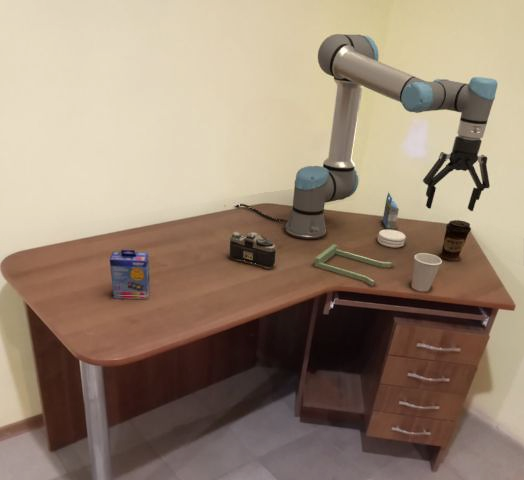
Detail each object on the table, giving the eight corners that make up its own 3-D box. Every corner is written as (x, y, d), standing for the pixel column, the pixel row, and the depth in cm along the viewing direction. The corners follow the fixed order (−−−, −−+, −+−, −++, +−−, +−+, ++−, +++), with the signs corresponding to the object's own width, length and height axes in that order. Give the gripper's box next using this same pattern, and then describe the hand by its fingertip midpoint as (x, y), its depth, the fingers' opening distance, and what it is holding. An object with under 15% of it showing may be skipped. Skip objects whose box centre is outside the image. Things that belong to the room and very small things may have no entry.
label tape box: (395, 229, 207) (402, 199, 200) (385, 228, 207) (391, 198, 200) (391, 221, 214) (397, 192, 208) (381, 220, 214) (387, 191, 208)
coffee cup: (462, 264, 183) (473, 229, 176) (438, 260, 184) (448, 225, 177) (460, 254, 190) (470, 220, 183) (437, 251, 191) (446, 217, 184)
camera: (282, 260, 175) (285, 231, 169) (269, 271, 167) (272, 242, 161) (240, 249, 180) (242, 221, 174) (226, 259, 172) (227, 230, 166)
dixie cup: (401, 285, 166) (408, 255, 160) (418, 279, 170) (425, 250, 164) (422, 295, 160) (430, 266, 155) (439, 289, 165) (447, 260, 159)
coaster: (374, 244, 192) (376, 235, 190) (380, 235, 200) (381, 227, 198) (401, 250, 190) (403, 241, 188) (405, 241, 197) (408, 232, 195)
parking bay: (312, 267, 171) (313, 259, 170) (334, 250, 185) (335, 242, 183) (372, 286, 163) (374, 277, 162) (391, 266, 177) (393, 258, 175)
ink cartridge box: (112, 299, 144) (107, 250, 136) (115, 290, 149) (111, 242, 141) (148, 300, 145) (146, 252, 137) (150, 291, 150) (148, 244, 142)
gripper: (431, 137, 148) (413, 210, 160) (515, 143, 150) (492, 214, 161) (423, 131, 154) (407, 202, 166) (504, 137, 156) (482, 206, 168)
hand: (449, 208), depth 164 cm, fingers open, 13 cm apart
